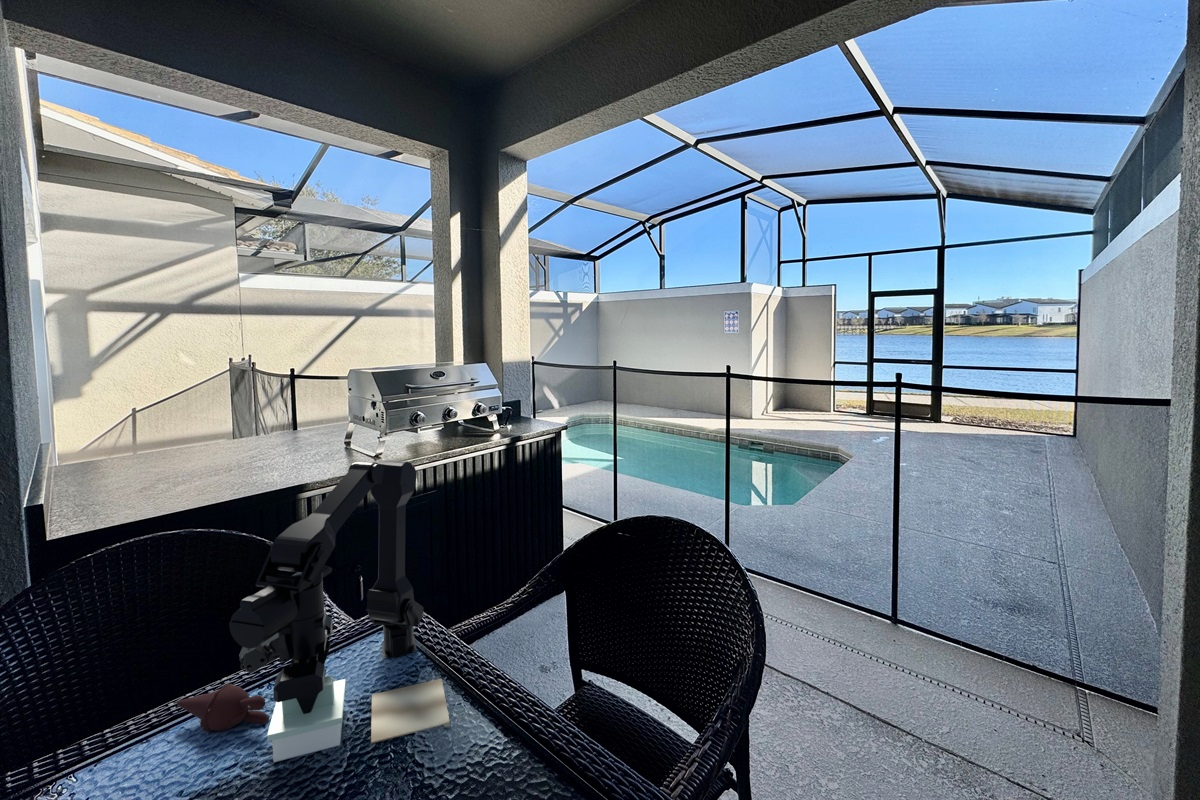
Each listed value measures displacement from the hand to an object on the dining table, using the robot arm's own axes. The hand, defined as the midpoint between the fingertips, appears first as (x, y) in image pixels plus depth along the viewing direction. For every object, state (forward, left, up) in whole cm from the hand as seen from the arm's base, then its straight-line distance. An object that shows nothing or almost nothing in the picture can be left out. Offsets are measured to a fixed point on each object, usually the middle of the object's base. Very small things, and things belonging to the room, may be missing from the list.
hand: (309, 703), depth 85 cm
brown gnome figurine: (-8, -14, -6) cm, 17 cm away
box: (0, 0, -6) cm, 6 cm away
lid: (0, 0, -2) cm, 2 cm away
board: (0, +15, -6) cm, 16 cm away
